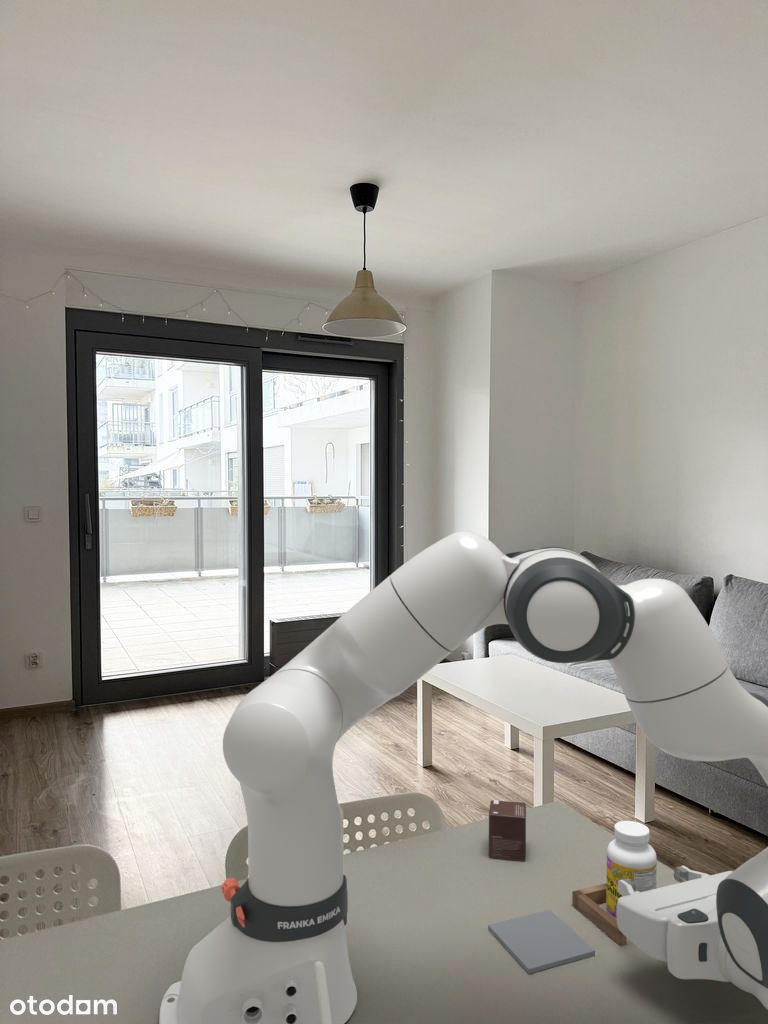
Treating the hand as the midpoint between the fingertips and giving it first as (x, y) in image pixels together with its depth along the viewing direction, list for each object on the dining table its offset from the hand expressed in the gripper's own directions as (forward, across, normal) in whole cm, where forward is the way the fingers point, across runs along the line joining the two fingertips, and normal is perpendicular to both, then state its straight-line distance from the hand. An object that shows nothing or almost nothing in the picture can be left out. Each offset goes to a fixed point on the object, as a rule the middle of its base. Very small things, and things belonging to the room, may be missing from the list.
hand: (650, 877), depth 98 cm
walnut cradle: (+4, 0, +8) cm, 9 cm away
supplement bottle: (+4, 0, +8) cm, 9 cm away
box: (+27, +6, +8) cm, 29 cm away
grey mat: (+4, +15, +8) cm, 17 cm away
